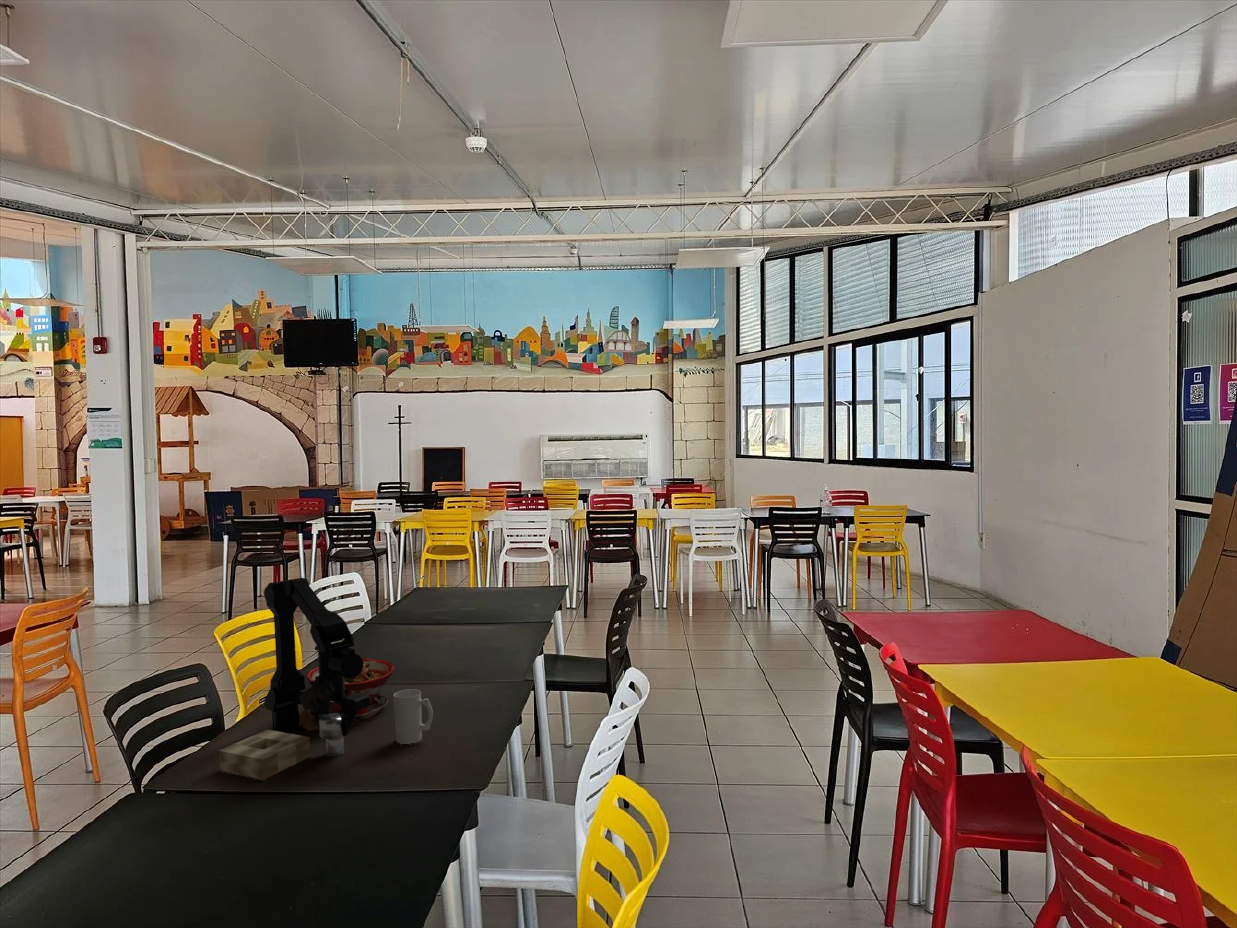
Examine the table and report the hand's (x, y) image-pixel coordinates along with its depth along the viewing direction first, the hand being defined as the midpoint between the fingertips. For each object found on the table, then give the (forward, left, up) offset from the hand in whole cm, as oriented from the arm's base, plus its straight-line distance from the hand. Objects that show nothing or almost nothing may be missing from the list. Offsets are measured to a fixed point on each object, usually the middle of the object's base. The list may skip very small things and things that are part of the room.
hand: (334, 733), depth 200 cm
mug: (+13, +14, -5) cm, 20 cm away
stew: (-17, +23, -5) cm, 29 cm away
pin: (0, 0, -5) cm, 5 cm away
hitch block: (-11, -11, -5) cm, 16 cm away
